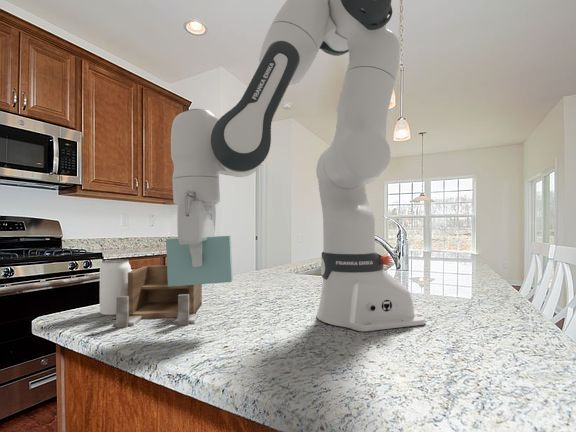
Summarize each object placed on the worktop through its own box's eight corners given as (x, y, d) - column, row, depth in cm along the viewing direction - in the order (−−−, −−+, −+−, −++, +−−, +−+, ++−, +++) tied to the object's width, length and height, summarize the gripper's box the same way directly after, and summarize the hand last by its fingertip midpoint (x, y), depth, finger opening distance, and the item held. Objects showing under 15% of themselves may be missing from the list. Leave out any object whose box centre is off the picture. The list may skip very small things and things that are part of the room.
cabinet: (205, 303, 83) (205, 264, 83) (193, 324, 66) (193, 275, 66) (140, 305, 81) (140, 265, 81) (111, 327, 65) (111, 277, 65)
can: (117, 316, 72) (117, 262, 72) (92, 315, 73) (93, 262, 74) (136, 309, 78) (136, 259, 79) (113, 307, 80) (113, 258, 80)
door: (232, 279, 66) (230, 235, 66) (231, 282, 62) (228, 236, 62) (172, 283, 65) (170, 238, 65) (166, 287, 61) (164, 239, 61)
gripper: (204, 188, 54) (209, 271, 54) (218, 197, 74) (221, 257, 74) (165, 189, 53) (169, 274, 53) (190, 198, 73) (193, 259, 73)
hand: (200, 264), depth 64 cm, fingers closed on door, 4 cm apart
